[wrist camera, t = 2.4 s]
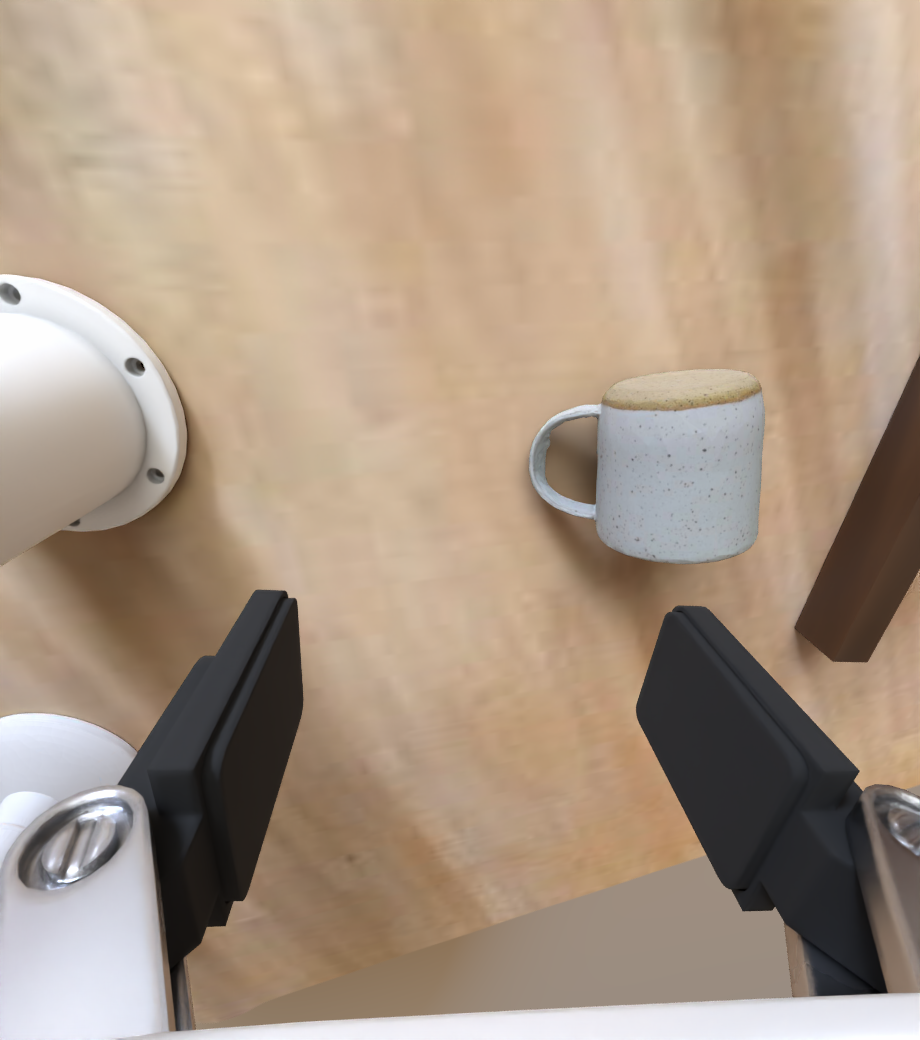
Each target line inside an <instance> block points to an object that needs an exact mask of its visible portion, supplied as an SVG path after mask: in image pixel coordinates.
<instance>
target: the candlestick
mask: <svg viewBox="0 0 920 1040" xmlns="http://www.w3.org/2000/svg"><path fill="white" fill-rule="evenodd" d="M137 753H138V752H137V751H136V750H135V749H134V748H133V747H131V746H130V745H129V744H128V743H126V742H125V741H124V740H122V739H121V738H119V737H118V736H116V735H115V734H113V733H111V732H109V731H107V730H105V729H103V728H101V727H99V726H96V725H94V724H92V723H89V722H86V721H82V720H79V719H76V718H72V717H67V716H62V715H55V714H44V713H26V714H16V715H10V716H6V717H2V718H0V869H1V866H2V863H3V861H4V858H5V855H6V853H7V851H8V850H9V849H10V847H11V846H12V844H13V843H14V841H15V840H16V839H17V837H18V836H19V834H20V833H21V832H22V831H23V830H24V829H25V828H26V827H27V826H29V825H30V824H31V823H32V822H33V821H34V820H35V819H36V818H37V817H38V816H39V815H41V814H42V813H44V812H45V811H47V810H48V809H49V808H51V807H52V806H54V805H55V804H57V803H58V802H60V801H62V800H64V799H66V798H68V797H70V796H72V795H74V794H77V793H79V792H81V791H85V790H88V789H92V788H95V787H99V786H111V785H117V784H118V783H119V781H120V779H121V778H122V776H123V775H124V773H125V772H126V770H127V769H128V767H129V766H130V764H131V762H132V761H133V759H134V758H135V756H136V755H137Z"/></svg>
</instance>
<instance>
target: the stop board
mask: <svg viewBox="0 0 920 1040" xmlns="http://www.w3.org/2000/svg"><path fill="white" fill-rule="evenodd" d="M919 569H920V357H919V359H918V362H917V364H916V366H915V368H914V370H913V372H912V375H911V377H910V379H909V381H908V383H907V385H906V388H905V390H904V392H903V394H902V396H901V398H900V401H899V403H898V405H897V407H896V409H895V411H894V414H893V416H892V418H891V420H890V422H889V424H888V427H887V429H886V431H885V433H884V435H883V437H882V440H881V442H880V444H879V446H878V448H877V450H876V453H875V455H874V457H873V459H872V461H871V463H870V466H869V468H868V470H867V472H866V474H865V476H864V479H863V481H862V483H861V485H860V487H859V490H858V492H857V494H856V496H855V498H854V500H853V503H852V505H851V507H850V509H849V511H848V513H847V516H846V518H845V520H844V522H843V524H842V526H841V529H840V531H839V533H838V535H837V537H836V539H835V542H834V544H833V546H832V548H831V550H830V552H829V555H828V557H827V559H826V561H825V563H824V565H823V568H822V570H821V572H820V574H819V576H818V578H817V581H816V583H815V585H814V587H813V589H812V591H811V594H810V596H809V598H808V600H807V602H806V604H805V607H804V609H803V611H802V613H801V615H800V617H799V620H798V622H797V624H796V626H795V629H796V630H797V631H798V632H799V633H801V634H802V635H803V636H804V637H805V638H806V639H807V640H809V641H810V642H811V643H812V644H813V645H814V646H815V647H817V648H818V649H819V650H820V651H821V652H822V653H823V654H825V655H826V656H827V657H828V658H829V659H830V660H832V661H833V662H868V661H869V659H870V657H871V655H872V653H873V652H874V650H875V648H876V646H877V644H878V643H879V641H880V639H881V637H882V636H883V634H884V632H885V630H886V628H887V627H888V625H889V623H890V621H891V619H892V618H893V616H894V614H895V612H896V610H897V609H898V607H899V605H900V603H901V602H902V600H903V598H904V596H905V594H906V593H907V591H908V589H909V587H910V585H911V584H912V582H913V580H914V578H915V577H916V575H917V573H918V571H919Z"/></svg>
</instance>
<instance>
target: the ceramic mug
mask: <svg viewBox="0 0 920 1040" xmlns="http://www.w3.org/2000/svg"><path fill="white" fill-rule="evenodd" d="M591 416H592V417H596V418H597V419H598V438H597V440H598V444H597V454H598V470H597V483H596V504H595V505H591V504H585V503H581V502H577V501H574V500H571V499H569V498H566V497H564V496H562V495H560V494H559V493H557V492H556V491H554V490H553V489H552V488H551V487H550V486H549V485H548V483H547V479H546V477H545V458H546V451H547V448H548V447H549V446H550V439H549V436H550V434H551V431H552V430H553V429H554V428H556V427H557V426H559V425H561V424H562V423H563V422H565V421H570V420H574V419H578V418H582V417H585V418H587V417H591ZM764 425H765V409H764V402H763V395H762V388H761V385H760V383H759V381H758V380H757V379H756V378H755V377H754V376H752V375H751V374H749V373H747V372H744V371H738V370H729V369H701V370H685V371H673V372H663V373H656V374H650V375H643V376H639V377H634V378H630V379H626V380H623V381H620V382H618V383H616V384H614V385H613V386H612V387H611V388H610V389H609V390H608V391H607V392H606V393H605V395H604V396H603V399H602V402H601V404H599V405H582V406H578V407H575V408H572V409H568V410H565V411H562V412H560V413H559V414H557V415H555V416H554V417H552V418H551V419H550V420H549V421H547V422H546V424H545V425H544V426H543V427H542V428H541V430H540V431H539V433H538V434H537V436H536V437H535V439H534V441H533V443H532V447H531V450H530V457H529V473H530V477H531V481H532V484H533V486H534V488H535V490H536V491H537V493H538V494H539V495H540V496H541V497H542V498H543V499H544V500H545V501H547V502H548V503H549V504H550V505H552V506H553V507H555V508H556V509H558V510H561V511H563V512H565V513H568V514H571V515H574V516H578V517H582V518H587V519H594V520H595V522H596V530H597V533H598V536H599V538H600V539H601V540H602V541H603V542H604V543H605V544H606V545H607V546H608V547H610V548H612V549H614V550H616V551H618V552H620V553H623V554H625V555H627V556H631V557H635V558H639V559H643V560H648V561H652V562H663V563H673V564H698V563H709V562H716V561H720V560H724V559H728V558H731V557H734V556H736V555H738V554H741V553H743V552H745V551H746V550H748V549H749V548H750V547H751V546H752V545H753V544H754V542H755V540H756V538H757V535H758V516H759V503H760V489H761V470H762V449H763V438H764Z"/></svg>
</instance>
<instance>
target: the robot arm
mask: <svg viewBox="0 0 920 1040" xmlns="http://www.w3.org/2000/svg"><path fill="white" fill-rule="evenodd" d="M141 362H142V363H143V365H144V367H145V370H144V369H143V368H142V367H141V365H140V364H141ZM186 448H187V429H186V422H185V416H184V410H183V407H182V405H181V402H180V399H179V396H178V393H177V390H176V387H175V386H174V384H173V382H172V380H171V378H170V376H169V375H168V373H167V371H166V369H165V367H164V366H163V364H162V363H161V361H160V360H159V359H158V357H157V356H156V355H155V353H154V352H153V351H152V350H151V348H150V347H149V346H148V344H147V343H146V342H145V341H144V340H143V339H142V338H141V337H140V336H139V335H138V334H137V333H136V332H135V331H134V330H133V329H132V328H131V327H130V326H129V325H128V324H127V323H126V322H125V321H123V320H122V319H121V318H119V317H118V316H117V315H115V314H114V313H112V312H111V311H110V310H108V309H107V308H105V307H104V306H103V305H101V304H100V303H98V302H96V301H95V300H93V299H91V298H89V297H87V296H85V295H83V294H81V293H79V292H77V291H75V290H73V289H71V288H68V287H65V286H62V285H59V284H56V283H53V282H50V281H47V280H44V279H39V278H32V277H25V276H17V275H2V274H0V567H1V566H2V565H4V564H6V563H7V562H9V561H10V560H12V559H14V558H15V557H17V556H19V555H20V554H22V553H24V552H25V551H27V550H28V549H30V548H32V547H33V546H35V545H37V544H38V543H40V542H42V541H43V540H45V539H46V538H48V537H50V536H51V535H53V534H55V533H56V532H58V531H60V530H67V531H79V532H86V531H99V530H107V529H110V528H114V527H118V526H122V525H125V524H127V523H129V522H131V521H133V520H135V519H137V518H139V517H141V516H143V515H144V514H146V513H147V512H148V511H150V510H151V509H153V508H154V507H155V506H157V505H158V504H159V503H160V502H161V501H162V500H163V499H164V498H165V497H166V496H167V495H168V494H169V492H170V491H171V490H172V488H173V487H174V485H175V483H176V481H177V480H178V478H179V476H180V474H181V471H182V468H183V464H184V461H185V457H186ZM160 471H161V472H162V473H163V474H162V473H161V472H160ZM302 710H303V685H302V669H301V653H300V637H299V621H298V605H297V600H296V599H295V598H288V594H287V592H286V591H278V590H255V592H254V593H253V594H252V596H251V598H250V599H249V601H248V603H247V604H246V606H245V608H244V609H243V611H242V613H241V614H240V616H239V618H238V619H237V621H236V623H235V624H234V626H233V628H232V629H231V631H230V633H229V634H228V636H227V637H226V639H225V641H224V642H223V644H222V646H221V647H220V649H219V651H218V652H217V654H216V656H203V657H202V658H200V659H199V660H198V661H197V662H196V664H195V665H194V666H193V668H192V670H191V671H190V673H189V674H188V676H187V677H186V679H185V680H184V682H183V684H182V685H181V687H180V688H179V690H178V691H177V693H176V694H175V696H174V697H173V699H172V701H171V702H170V704H169V705H168V707H167V708H166V710H165V711H164V713H163V714H162V716H161V718H160V719H159V721H158V722H157V724H156V725H155V727H154V728H153V730H152V731H151V733H150V735H149V736H148V738H147V739H146V741H145V742H144V744H143V745H142V747H141V749H140V750H139V752H138V753H137V755H136V756H135V758H134V759H133V761H132V762H131V764H130V766H129V767H128V769H127V770H126V772H125V773H124V775H123V776H122V778H121V779H120V781H119V783H118V784H117V785H111V786H99V787H95V788H92V789H88V790H85V791H81V792H79V793H77V794H74V795H72V796H70V797H68V798H66V799H64V800H62V801H60V802H58V803H57V804H55V805H54V806H52V807H51V808H49V809H48V810H47V811H45V812H44V813H42V814H41V815H39V816H38V817H37V818H36V819H35V820H34V821H33V822H32V823H31V824H30V825H29V826H27V827H26V828H25V829H24V830H23V831H22V832H21V833H20V834H19V836H18V837H17V839H16V840H15V841H14V843H13V844H12V846H11V847H10V849H9V850H8V851H7V853H6V855H5V858H4V861H3V863H2V866H1V869H0V1040H920V797H919V796H917V795H915V794H913V793H911V792H909V791H907V790H904V789H900V788H897V787H894V786H890V785H879V784H875V785H872V786H869V787H866V788H865V790H864V791H862V790H861V789H860V787H859V786H858V785H857V784H856V783H855V782H854V779H855V778H856V776H857V775H858V773H859V772H860V771H859V770H858V769H857V768H856V767H855V766H854V764H853V763H852V762H851V761H850V760H849V759H848V758H847V757H846V756H845V755H844V754H843V753H842V752H841V751H840V749H839V748H838V747H837V746H836V745H835V744H834V743H833V742H832V741H831V740H830V739H829V738H828V737H827V736H826V734H825V733H824V732H823V731H822V730H821V729H820V728H819V727H818V726H817V725H816V724H815V723H814V722H813V721H812V719H811V718H810V717H809V716H808V715H807V714H806V713H805V712H804V711H803V710H802V709H801V708H800V707H799V706H798V704H797V703H796V702H795V701H794V700H793V699H792V698H791V697H790V696H789V695H788V694H787V693H786V692H785V691H784V689H783V688H782V687H781V686H780V685H779V684H778V683H777V682H776V681H775V680H774V679H773V678H772V677H771V676H770V675H769V673H768V672H767V671H766V670H765V669H764V668H763V667H762V666H761V665H760V664H759V663H758V662H757V661H756V660H755V658H754V657H753V656H752V655H751V654H750V653H749V652H748V651H747V650H746V649H745V648H744V647H743V646H742V645H741V643H740V642H739V641H738V640H737V639H736V638H735V637H734V636H733V635H732V634H731V633H730V632H729V631H728V630H727V628H726V627H725V626H724V625H723V624H722V623H721V622H720V621H719V620H718V619H717V618H716V617H715V616H714V615H713V613H712V612H711V611H710V610H709V609H707V608H706V607H702V606H676V607H675V608H674V609H673V610H672V612H668V613H667V614H666V615H665V617H664V620H663V623H662V627H661V630H660V633H659V636H658V639H657V642H656V645H655V648H654V651H653V655H652V658H651V661H650V664H649V667H648V670H647V673H646V676H645V679H644V683H643V686H642V689H641V692H640V695H639V698H638V701H637V705H636V714H637V718H638V721H639V724H640V725H641V727H642V729H643V731H644V733H645V735H646V737H647V739H648V741H649V743H650V745H651V747H652V749H653V751H654V753H655V755H656V757H657V759H658V761H659V763H660V765H661V766H662V768H663V770H664V772H665V774H666V776H667V778H668V780H669V782H670V784H671V786H672V788H673V790H674V792H675V794H676V796H677V798H678V800H679V802H680V804H681V806H682V807H683V809H684V811H685V813H686V815H687V817H688V819H689V821H690V823H691V825H692V827H693V829H694V831H695V833H696V835H697V837H698V839H699V841H700V843H701V845H702V847H703V848H704V850H705V852H706V854H707V856H708V858H709V860H710V862H711V864H712V866H713V868H714V870H715V872H716V874H717V876H718V877H719V879H720V881H721V882H722V884H723V885H724V886H725V887H726V888H728V889H731V890H732V892H733V894H734V895H735V897H736V899H737V901H738V903H739V905H740V907H741V909H742V911H769V910H770V911H771V910H773V909H774V907H776V909H777V910H778V912H779V914H780V915H781V917H782V919H783V921H784V927H785V936H786V944H787V953H788V961H789V970H790V979H791V987H792V996H793V998H769V999H746V1000H724V1001H723V1000H722V1001H701V1002H680V1003H659V1004H637V1005H616V1006H596V1007H575V1008H555V1009H535V1010H514V1011H494V1012H477V1013H460V1014H441V1015H440V1014H439V1015H422V1016H421V1015H420V1016H402V1017H384V1018H365V1019H346V1020H328V1021H309V1022H295V1023H281V1024H267V1025H254V1026H241V1027H228V1028H215V1029H203V1030H196V1025H195V1018H194V1010H193V1003H192V995H191V988H190V980H189V973H188V965H187V957H186V955H188V954H189V953H190V952H191V951H192V950H193V949H195V948H196V947H197V946H198V945H199V944H201V941H202V939H203V936H204V933H205V930H206V927H214V926H226V923H227V920H228V917H229V914H230V910H231V907H232V904H233V901H243V900H244V899H245V897H246V895H247V893H248V890H249V887H250V884H251V880H252V877H253V874H254V870H255V867H256V864H257V861H258V857H259V854H260V851H261V847H262V844H263V841H264V837H265V834H266V831H267V828H268V824H269V821H270V818H271V814H272V811H273V808H274V805H275V801H276V798H277V795H278V791H279V788H280V785H281V782H282V778H283V775H284V772H285V768H286V765H287V762H288V759H289V755H290V752H291V749H292V745H293V742H294V739H295V736H296V732H297V729H298V726H299V722H300V719H301V715H302Z"/></svg>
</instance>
